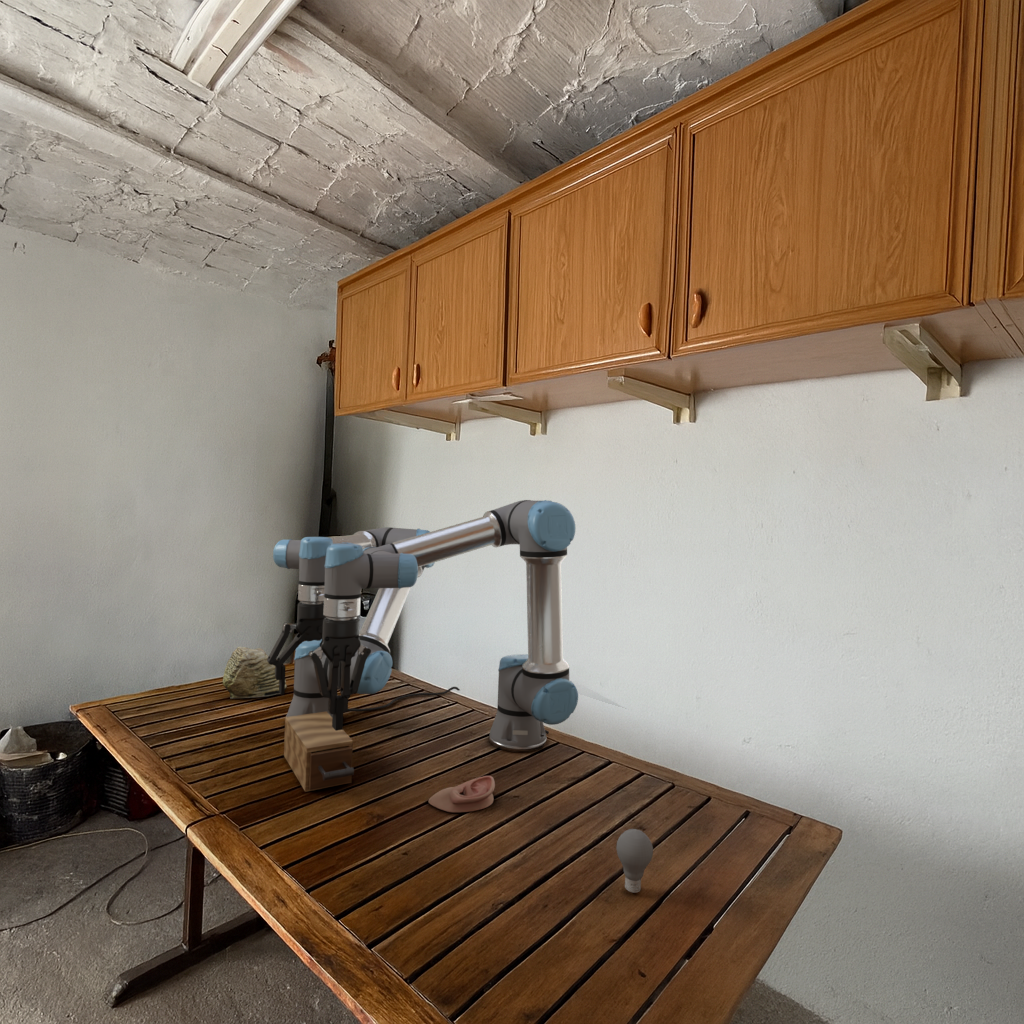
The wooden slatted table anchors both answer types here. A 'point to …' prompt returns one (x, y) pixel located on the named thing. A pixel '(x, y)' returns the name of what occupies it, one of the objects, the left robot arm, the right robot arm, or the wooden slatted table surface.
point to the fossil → (250, 674)
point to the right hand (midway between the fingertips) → (337, 727)
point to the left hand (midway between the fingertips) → (311, 689)
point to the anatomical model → (465, 796)
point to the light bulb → (634, 857)
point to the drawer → (330, 767)
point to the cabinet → (310, 742)
